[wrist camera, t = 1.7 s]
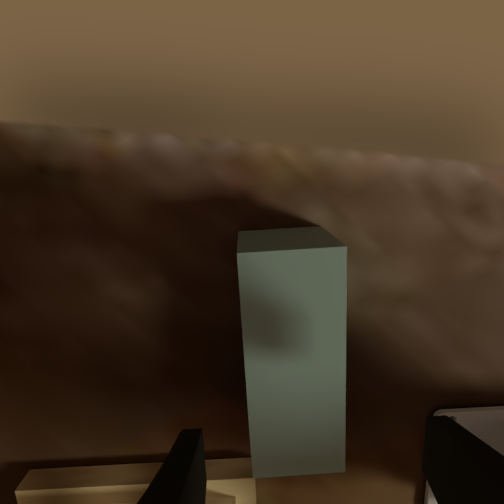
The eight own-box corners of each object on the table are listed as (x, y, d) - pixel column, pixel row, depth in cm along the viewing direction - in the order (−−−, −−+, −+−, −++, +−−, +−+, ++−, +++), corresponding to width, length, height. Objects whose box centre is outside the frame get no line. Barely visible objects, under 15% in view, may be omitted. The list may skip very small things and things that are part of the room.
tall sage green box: (319, 225, 19) (346, 246, 14) (321, 402, 21) (345, 472, 16) (238, 230, 19) (236, 253, 14) (250, 407, 21) (252, 478, 16)
